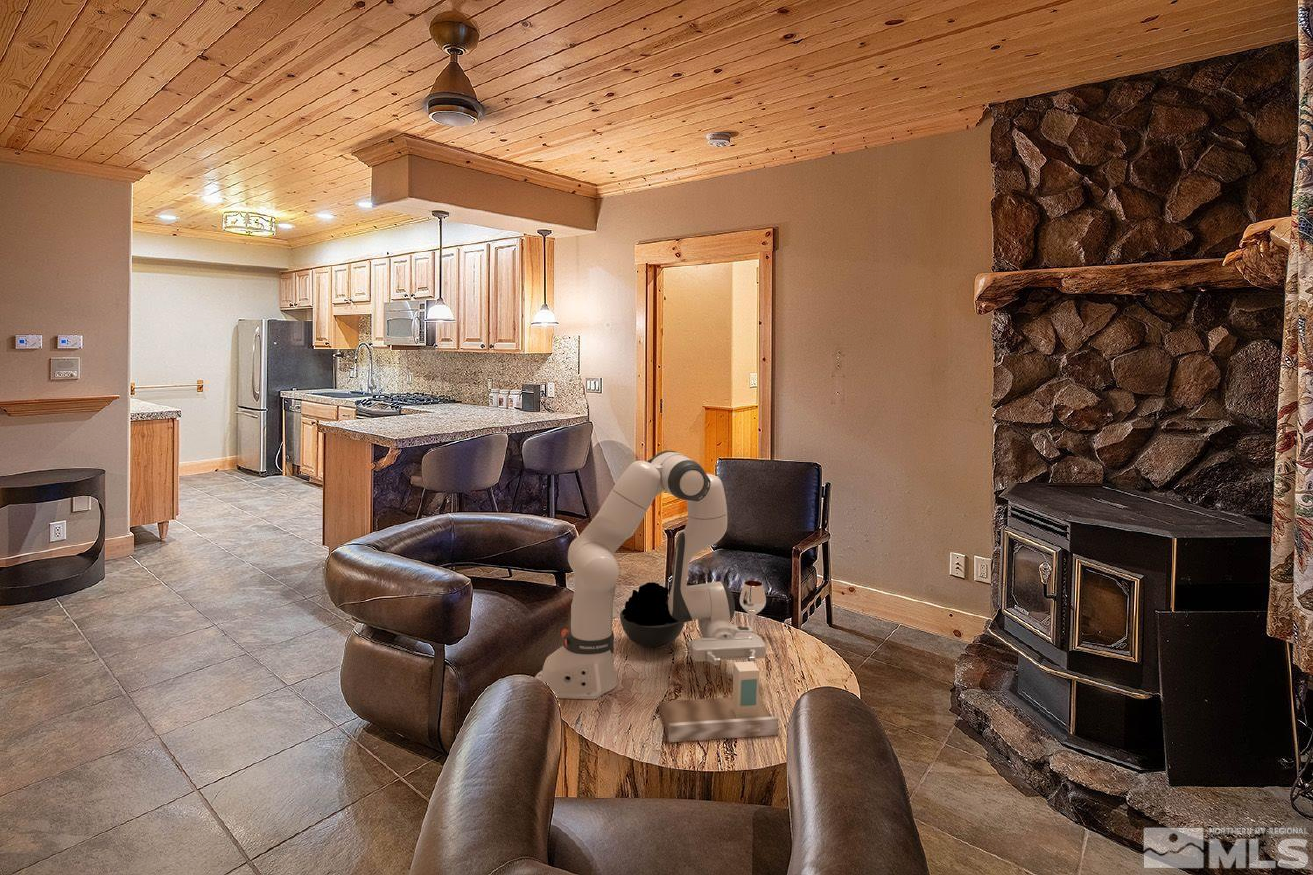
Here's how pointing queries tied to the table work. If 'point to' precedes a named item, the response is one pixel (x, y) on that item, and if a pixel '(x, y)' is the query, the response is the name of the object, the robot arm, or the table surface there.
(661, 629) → the coal bowl
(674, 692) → the table surface
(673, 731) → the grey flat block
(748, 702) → the carton
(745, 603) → the wineglass
